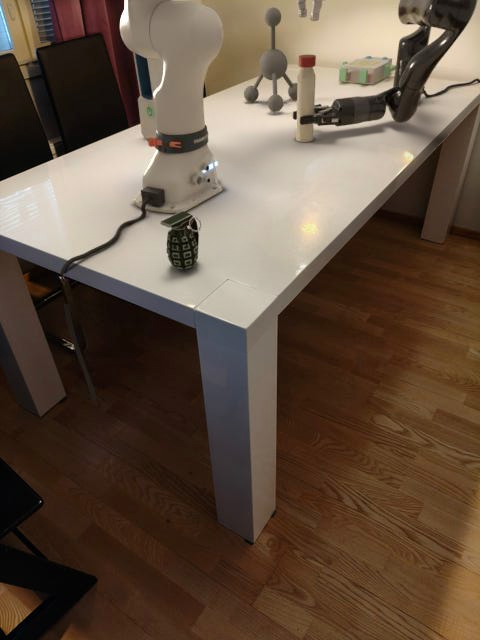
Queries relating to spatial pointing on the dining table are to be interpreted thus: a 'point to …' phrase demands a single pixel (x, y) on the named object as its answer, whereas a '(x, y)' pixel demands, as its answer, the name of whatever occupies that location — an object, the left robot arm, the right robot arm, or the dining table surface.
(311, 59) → the cap
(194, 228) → the grenade
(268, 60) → the molecular model
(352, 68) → the decorative block
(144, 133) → the electronic device
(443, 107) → the dining table surface
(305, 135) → the bottle
